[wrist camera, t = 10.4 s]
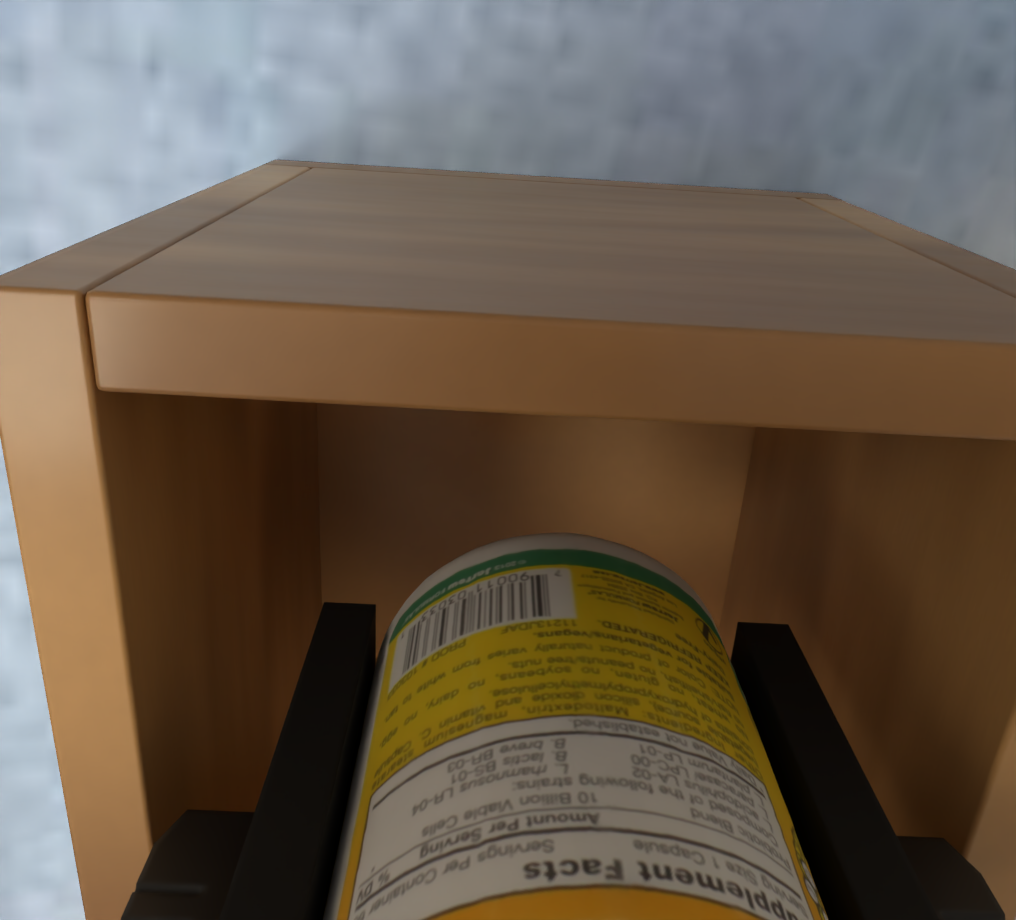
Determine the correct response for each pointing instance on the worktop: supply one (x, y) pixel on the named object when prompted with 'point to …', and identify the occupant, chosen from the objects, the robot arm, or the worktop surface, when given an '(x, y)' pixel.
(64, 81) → the worktop surface
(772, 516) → the chest
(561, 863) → the supplement bottle
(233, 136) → the worktop surface
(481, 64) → the worktop surface
